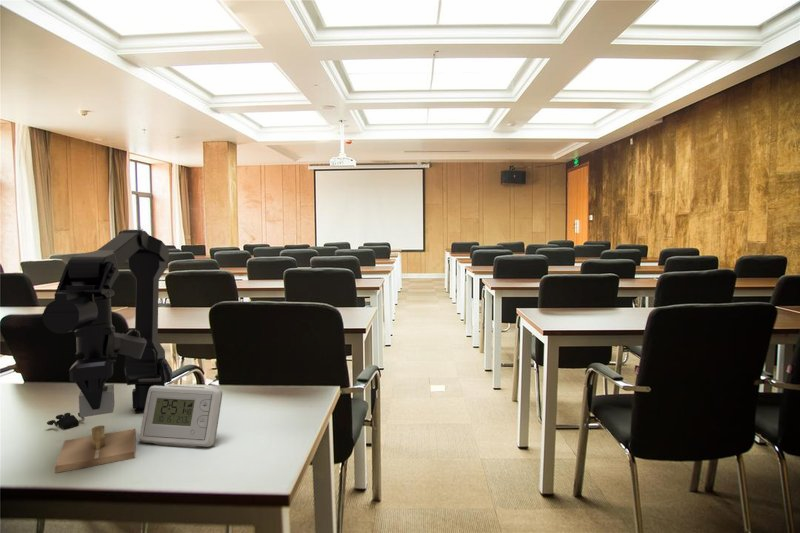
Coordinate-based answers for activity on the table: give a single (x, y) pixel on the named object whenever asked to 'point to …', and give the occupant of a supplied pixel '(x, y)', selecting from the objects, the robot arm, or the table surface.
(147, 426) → the digital clock
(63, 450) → the wooden base plate
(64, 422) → the wireless earbuds
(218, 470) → the table surface
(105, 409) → the square gray frame
